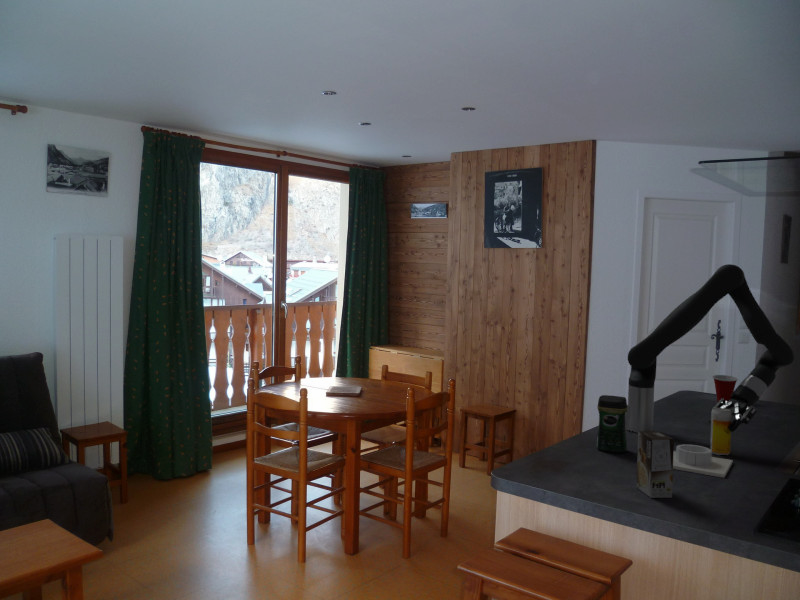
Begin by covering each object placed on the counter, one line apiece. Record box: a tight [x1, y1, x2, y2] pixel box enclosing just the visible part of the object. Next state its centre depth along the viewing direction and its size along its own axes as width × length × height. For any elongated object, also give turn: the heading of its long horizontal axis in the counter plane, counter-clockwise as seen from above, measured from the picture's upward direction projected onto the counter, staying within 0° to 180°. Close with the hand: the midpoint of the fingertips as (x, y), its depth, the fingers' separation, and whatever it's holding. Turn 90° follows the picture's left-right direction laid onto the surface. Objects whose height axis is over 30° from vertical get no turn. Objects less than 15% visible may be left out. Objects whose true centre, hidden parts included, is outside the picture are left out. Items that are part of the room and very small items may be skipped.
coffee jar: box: [596, 394, 628, 453], centre depth 217 cm, size 10×8×19 cm
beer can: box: [709, 407, 733, 456], centre depth 215 cm, size 6×6×15 cm
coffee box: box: [636, 430, 675, 499], centre depth 175 cm, size 9×6×16 cm
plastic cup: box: [712, 374, 739, 403], centre depth 304 cm, size 11×11×12 cm
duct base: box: [673, 444, 733, 479], centre depth 202 cm, size 20×18×5 cm
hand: (720, 427), depth 215 cm, fingers open, 8 cm apart
